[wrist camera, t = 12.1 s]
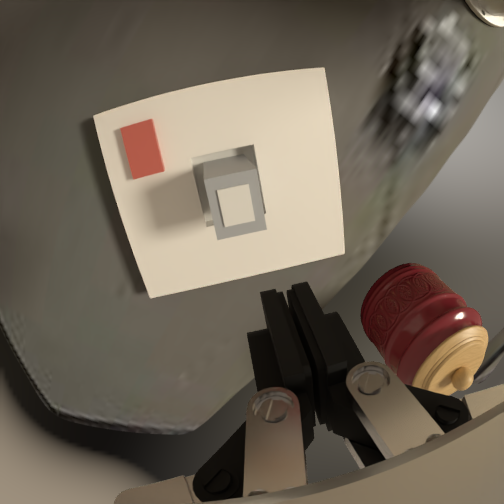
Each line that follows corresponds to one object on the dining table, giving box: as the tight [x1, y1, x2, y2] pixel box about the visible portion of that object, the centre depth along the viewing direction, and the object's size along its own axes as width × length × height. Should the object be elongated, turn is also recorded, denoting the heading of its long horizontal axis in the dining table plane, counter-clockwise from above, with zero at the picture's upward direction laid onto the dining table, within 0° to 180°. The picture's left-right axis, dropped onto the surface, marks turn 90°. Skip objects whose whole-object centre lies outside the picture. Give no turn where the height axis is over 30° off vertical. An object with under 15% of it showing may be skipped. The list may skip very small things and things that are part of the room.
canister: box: [361, 263, 488, 395], centre depth 35 cm, size 13×13×18 cm
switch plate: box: [93, 67, 345, 298], centre depth 31 cm, size 22×20×3 cm
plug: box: [203, 154, 267, 240], centre depth 28 cm, size 4×5×8 cm
